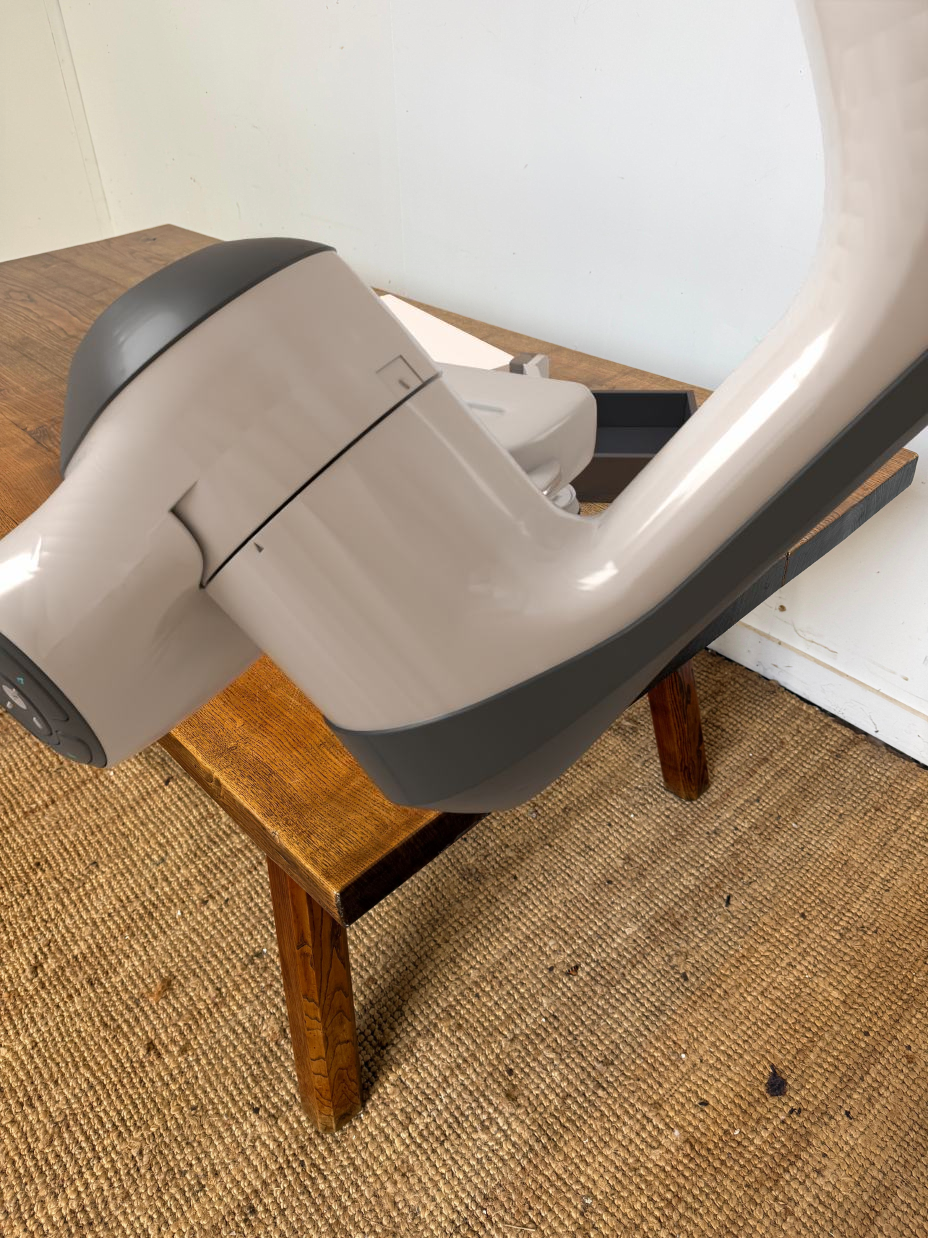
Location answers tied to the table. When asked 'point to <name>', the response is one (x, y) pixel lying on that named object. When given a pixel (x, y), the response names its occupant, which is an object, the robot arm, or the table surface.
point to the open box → (630, 437)
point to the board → (447, 339)
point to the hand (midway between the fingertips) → (456, 355)
